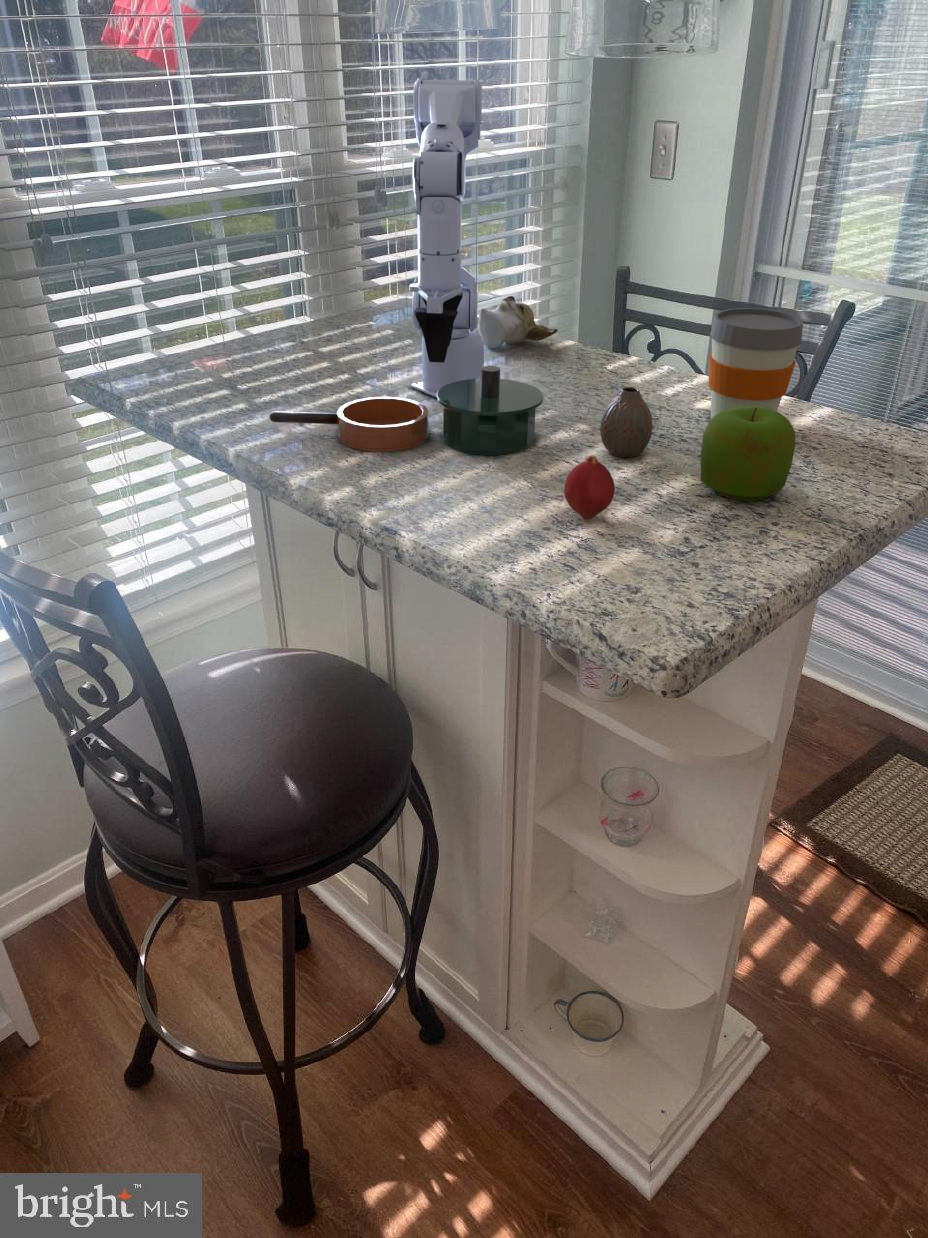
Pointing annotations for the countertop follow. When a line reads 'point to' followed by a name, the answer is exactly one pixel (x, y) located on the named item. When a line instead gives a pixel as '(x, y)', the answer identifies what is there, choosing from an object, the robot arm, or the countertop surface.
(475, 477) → the countertop surface
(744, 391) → the reusable coffee cup
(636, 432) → the vase
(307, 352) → the countertop surface
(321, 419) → the pan handle
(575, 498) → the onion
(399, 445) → the pan
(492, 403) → the lid
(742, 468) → the apple
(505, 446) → the pot
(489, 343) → the ceramic sculpture
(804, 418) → the countertop surface
